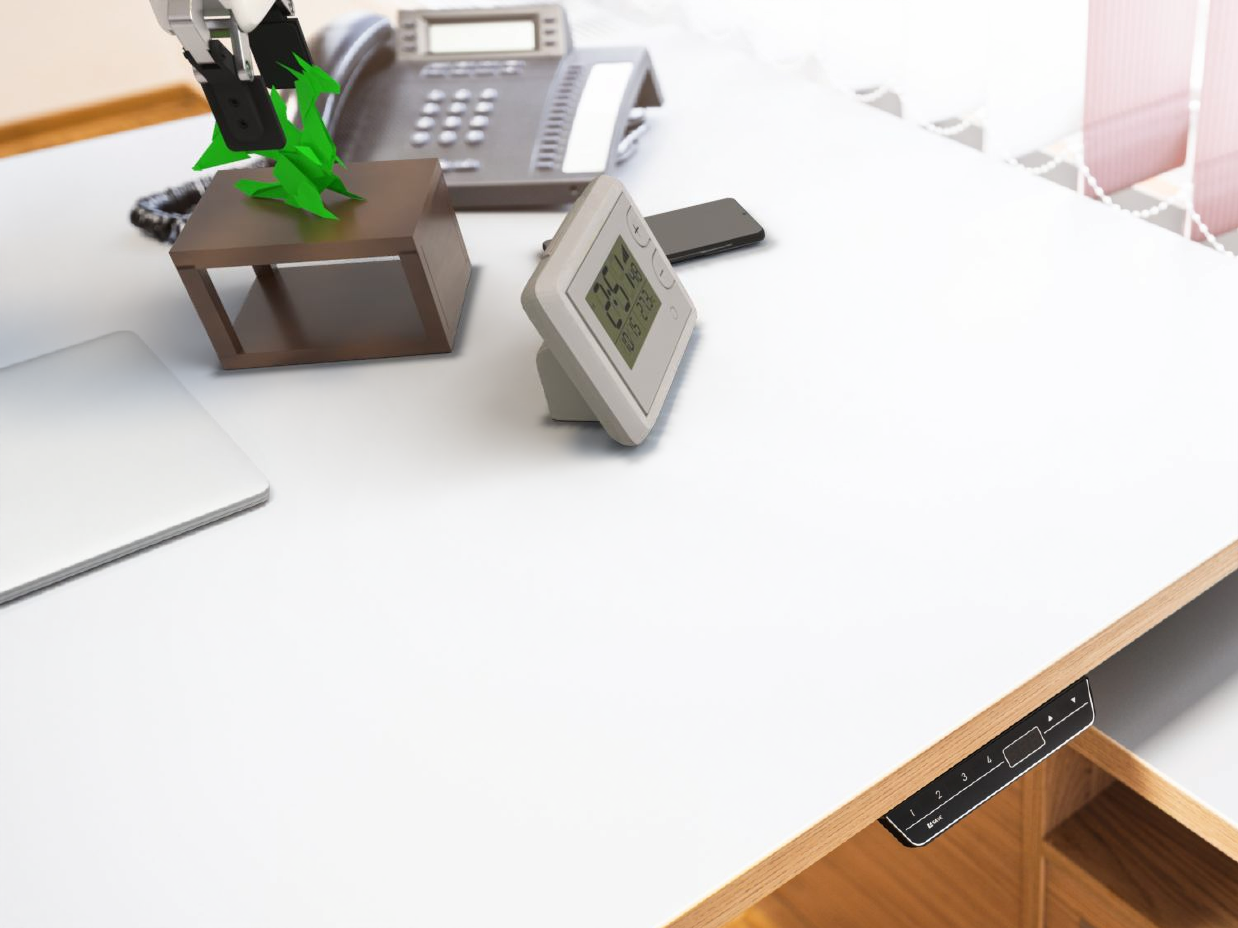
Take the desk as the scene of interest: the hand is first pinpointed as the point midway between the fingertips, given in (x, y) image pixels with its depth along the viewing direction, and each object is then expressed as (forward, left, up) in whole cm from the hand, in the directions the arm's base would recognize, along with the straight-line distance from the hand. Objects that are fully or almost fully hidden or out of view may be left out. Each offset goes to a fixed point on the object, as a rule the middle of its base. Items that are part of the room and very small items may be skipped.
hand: (277, 116), depth 81 cm
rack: (0, 0, -13) cm, 13 cm away
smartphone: (+20, +7, -13) cm, 25 cm away
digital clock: (+19, -12, -14) cm, 26 cm away
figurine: (0, 0, -6) cm, 6 cm away
